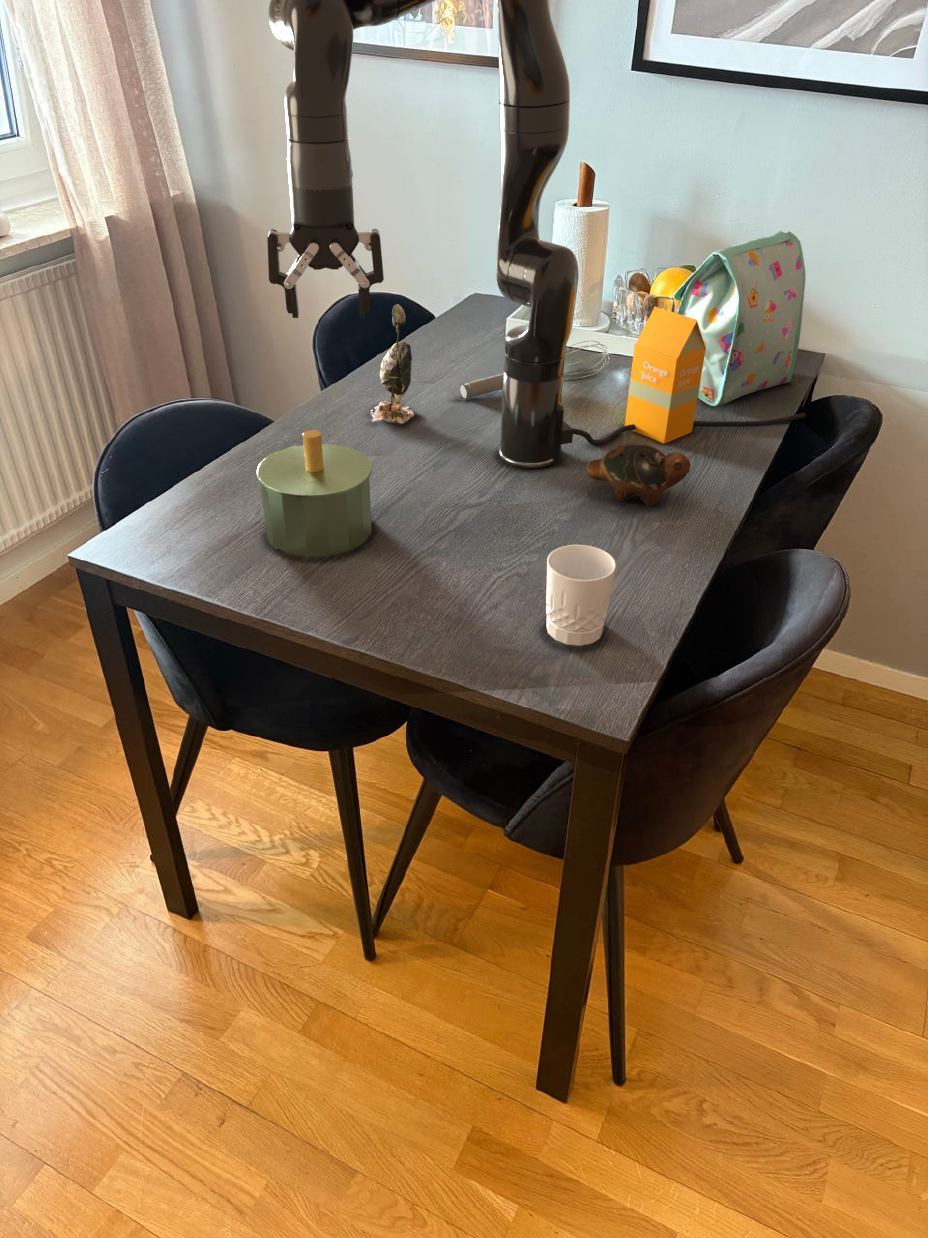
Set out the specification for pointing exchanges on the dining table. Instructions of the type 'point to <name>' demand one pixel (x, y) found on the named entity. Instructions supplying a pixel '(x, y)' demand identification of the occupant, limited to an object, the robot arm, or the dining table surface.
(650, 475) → the decorative turtle
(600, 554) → the white cup
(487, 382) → the kitchen whisk
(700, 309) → the lunch bag
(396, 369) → the plant with pod
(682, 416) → the orange juice
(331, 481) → the lid
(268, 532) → the tin
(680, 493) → the dining table surface
